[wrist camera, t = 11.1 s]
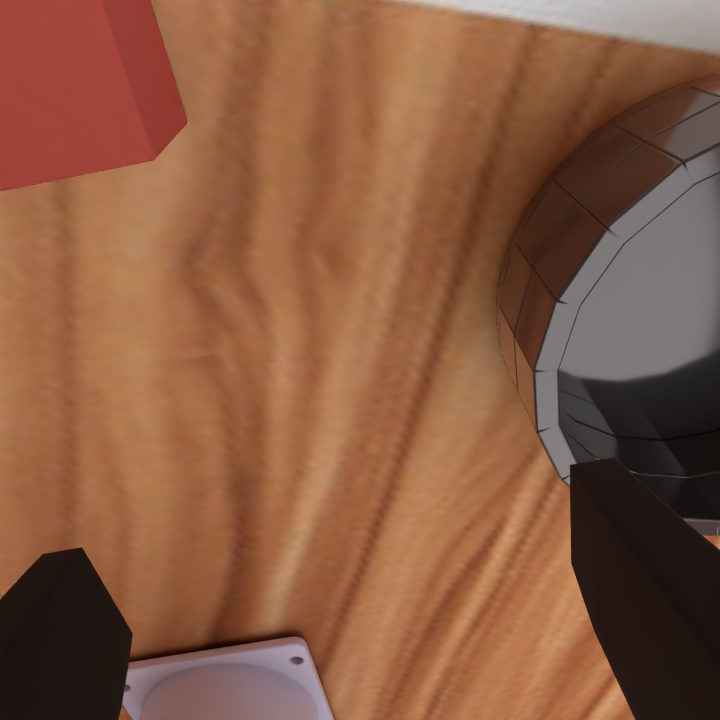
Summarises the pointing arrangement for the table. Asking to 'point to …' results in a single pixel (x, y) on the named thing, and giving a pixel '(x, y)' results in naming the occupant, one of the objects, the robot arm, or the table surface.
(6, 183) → the brick red cuboid
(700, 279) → the pot
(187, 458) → the table surface
